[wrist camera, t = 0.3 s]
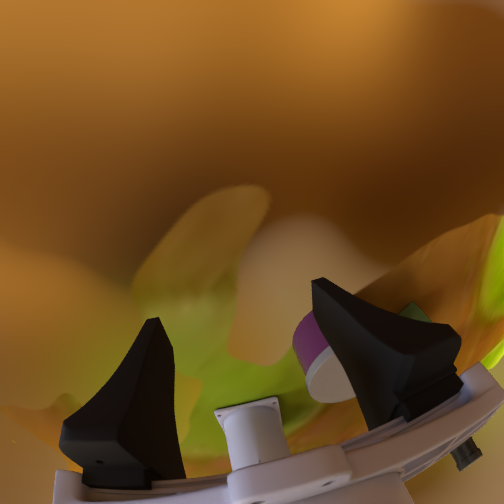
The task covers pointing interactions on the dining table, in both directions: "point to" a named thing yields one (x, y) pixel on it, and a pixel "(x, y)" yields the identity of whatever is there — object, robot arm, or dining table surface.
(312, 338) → the jar
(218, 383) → the dining table surface
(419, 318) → the block
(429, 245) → the dining table surface
